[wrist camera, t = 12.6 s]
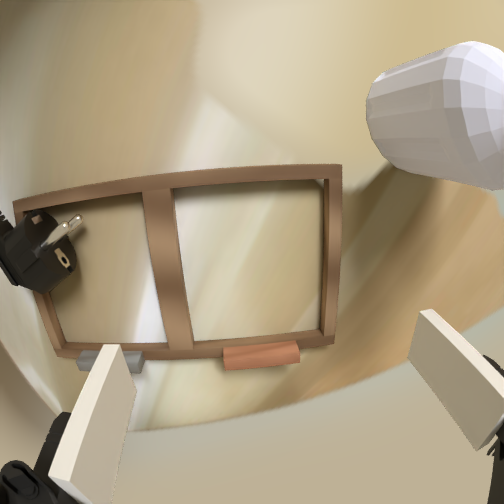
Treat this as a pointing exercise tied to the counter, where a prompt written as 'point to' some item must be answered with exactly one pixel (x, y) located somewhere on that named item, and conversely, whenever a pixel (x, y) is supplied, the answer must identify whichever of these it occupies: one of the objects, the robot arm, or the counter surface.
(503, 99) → the soap bottle
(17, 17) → the counter surface
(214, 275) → the counter surface
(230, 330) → the counter surface
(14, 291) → the counter surface
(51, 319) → the strip
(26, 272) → the power plug
